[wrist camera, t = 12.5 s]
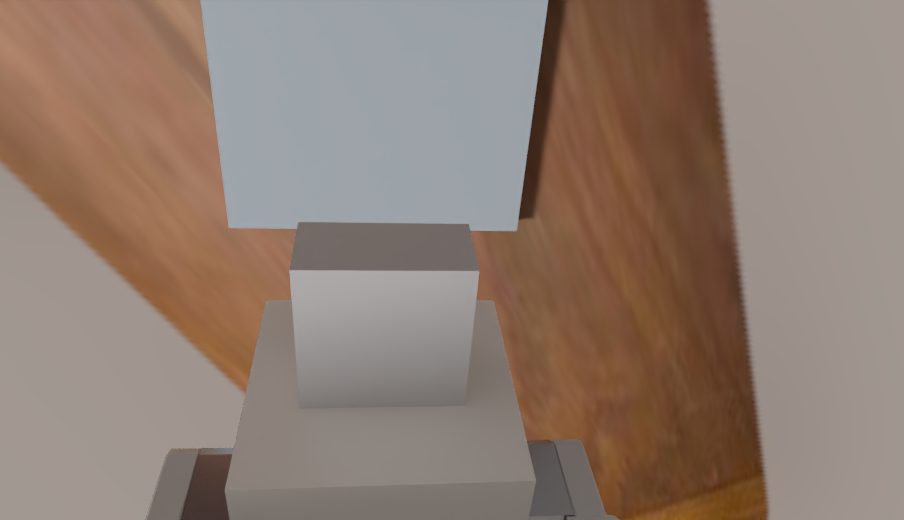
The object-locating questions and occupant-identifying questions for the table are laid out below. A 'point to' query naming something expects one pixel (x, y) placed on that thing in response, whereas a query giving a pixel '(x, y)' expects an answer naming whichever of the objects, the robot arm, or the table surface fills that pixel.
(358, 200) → the grey pad
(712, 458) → the table surface
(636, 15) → the table surface
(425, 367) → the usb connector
